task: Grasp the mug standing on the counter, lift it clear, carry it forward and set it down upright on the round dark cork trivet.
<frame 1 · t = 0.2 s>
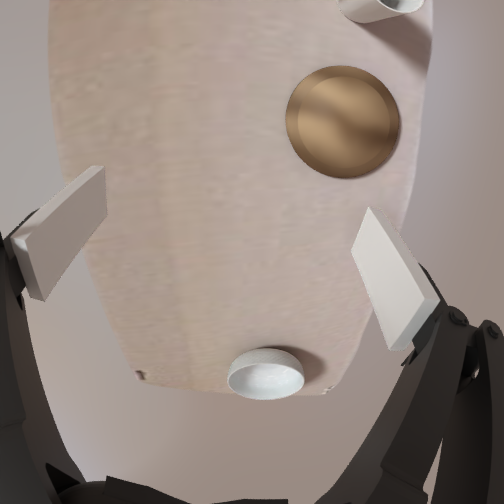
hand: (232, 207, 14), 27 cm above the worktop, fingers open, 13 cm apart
trivet: (343, 121, 36), on the worktop
cereal bowl: (265, 358, 66), on the worktop
mug: (346, 0, 26), on the worktop
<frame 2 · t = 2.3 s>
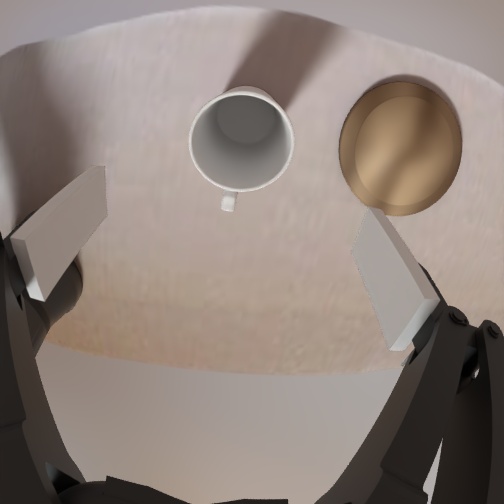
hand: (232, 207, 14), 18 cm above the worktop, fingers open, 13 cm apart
trivet: (404, 150, 29), on the worktop
mug: (242, 129, 29), on the worktop
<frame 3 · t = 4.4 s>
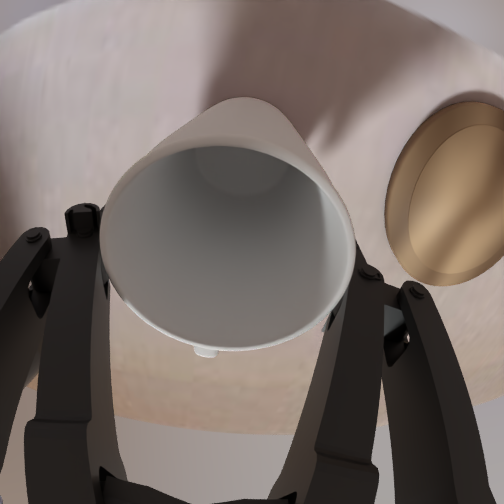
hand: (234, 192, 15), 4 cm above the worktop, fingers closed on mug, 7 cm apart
trivet: (469, 200, 19), on the worktop
mug: (238, 169, 18), on the worktop, touching gripper
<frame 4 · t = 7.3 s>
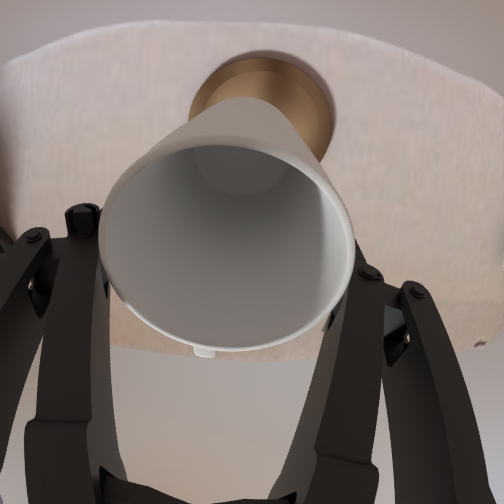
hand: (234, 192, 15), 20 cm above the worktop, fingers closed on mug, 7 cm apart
trivet: (260, 125, 32), on the worktop
mug: (238, 169, 18), point 16 cm above the worktop, touching gripper
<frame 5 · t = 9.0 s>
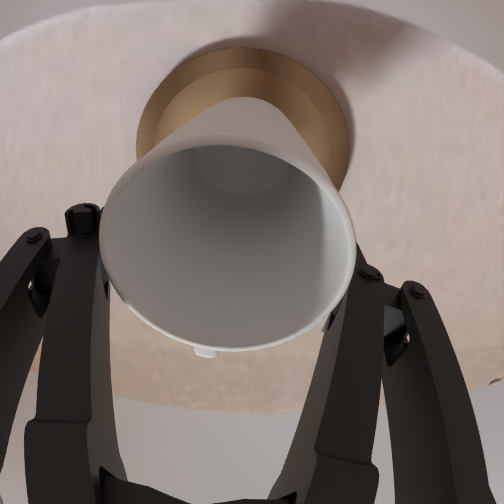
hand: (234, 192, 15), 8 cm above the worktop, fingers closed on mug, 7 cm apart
trivet: (241, 152, 22), on the worktop
mug: (238, 169, 18), point 4 cm above the worktop, touching gripper
when the fingers open (5 cm above the worktop, at t = 10.1 s): mug stays where it is, resting on trivet.
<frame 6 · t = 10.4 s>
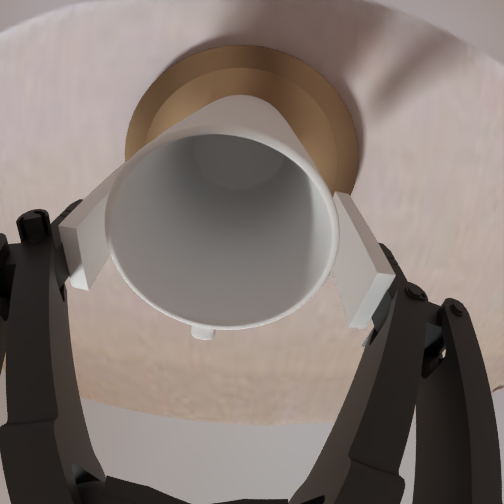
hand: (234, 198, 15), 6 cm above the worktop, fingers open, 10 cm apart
trivet: (240, 160, 20), on the worktop
mug: (235, 164, 19), point 1 cm above the worktop, touching trivet
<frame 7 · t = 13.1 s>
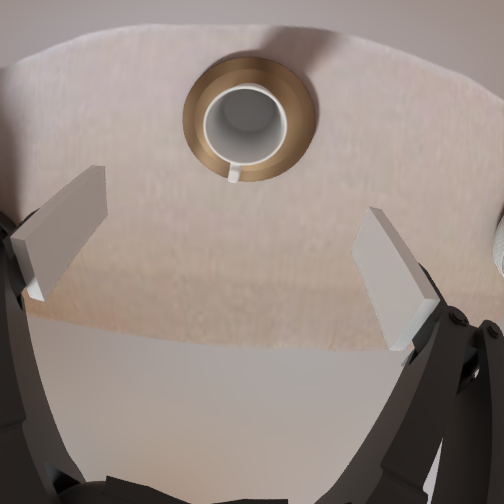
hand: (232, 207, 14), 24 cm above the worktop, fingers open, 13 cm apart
trivet: (248, 119, 34), on the worktop
mug: (246, 120, 33), point 1 cm above the worktop, touching trivet
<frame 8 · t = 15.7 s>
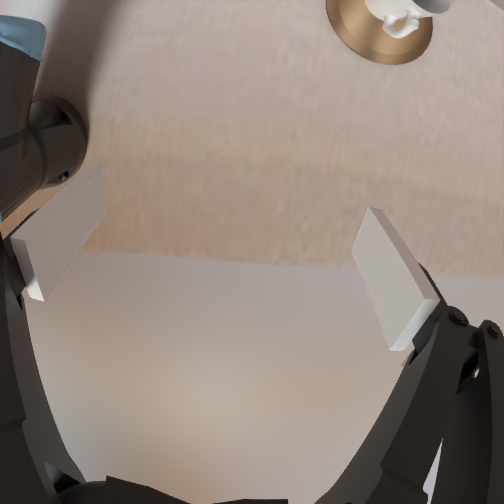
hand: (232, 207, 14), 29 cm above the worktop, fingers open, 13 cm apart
trivet: (381, 13, 27), on the worktop
mug: (382, 11, 27), point 1 cm above the worktop, touching trivet
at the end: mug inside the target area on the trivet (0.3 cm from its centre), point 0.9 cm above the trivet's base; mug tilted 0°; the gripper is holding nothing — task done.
